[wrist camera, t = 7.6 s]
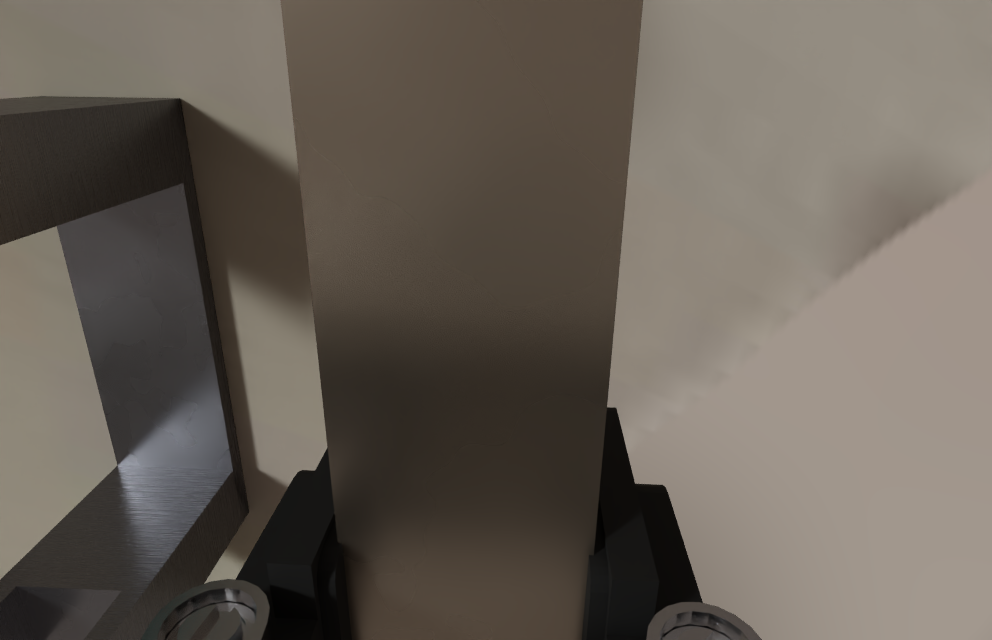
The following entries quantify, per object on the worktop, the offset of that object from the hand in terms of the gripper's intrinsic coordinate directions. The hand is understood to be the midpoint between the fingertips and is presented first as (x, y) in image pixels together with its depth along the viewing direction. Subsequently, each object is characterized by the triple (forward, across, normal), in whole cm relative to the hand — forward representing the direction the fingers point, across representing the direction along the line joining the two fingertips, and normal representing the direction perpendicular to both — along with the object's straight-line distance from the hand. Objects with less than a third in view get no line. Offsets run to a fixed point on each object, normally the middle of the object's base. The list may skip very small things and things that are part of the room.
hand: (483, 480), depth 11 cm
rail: (0, 0, 0) cm, 0 cm away
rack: (+15, +15, +4) cm, 22 cm away
